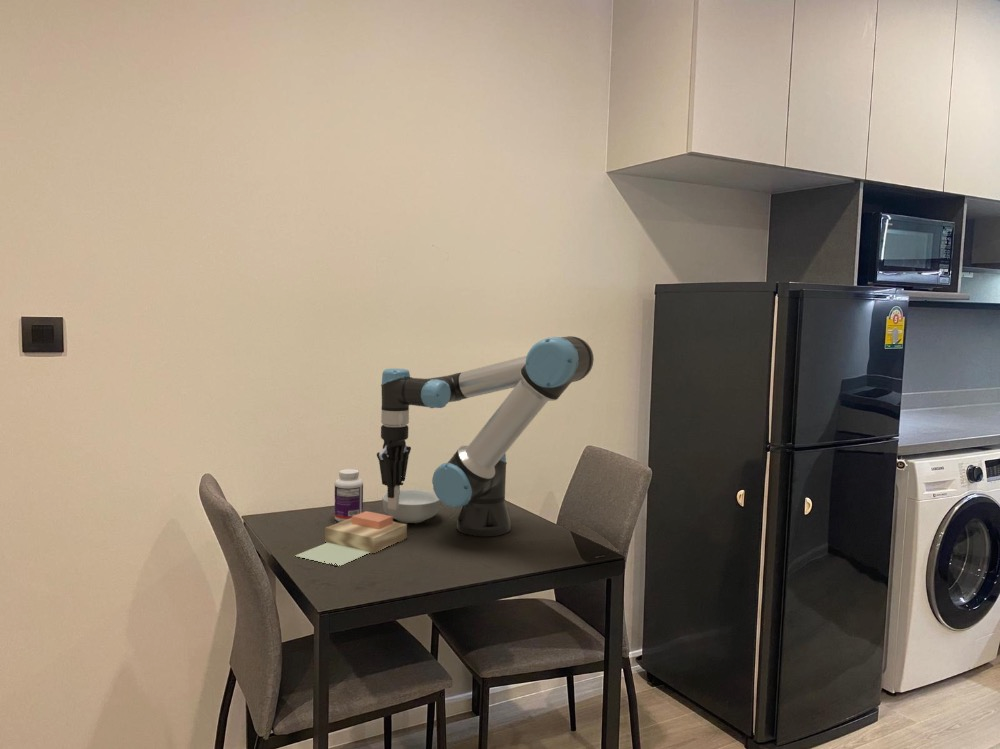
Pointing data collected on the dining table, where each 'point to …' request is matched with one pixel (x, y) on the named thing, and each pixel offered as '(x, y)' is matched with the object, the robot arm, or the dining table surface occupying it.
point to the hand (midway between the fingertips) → (393, 508)
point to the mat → (333, 554)
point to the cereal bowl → (413, 506)
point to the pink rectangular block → (372, 520)
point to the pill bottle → (348, 495)
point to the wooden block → (365, 535)
